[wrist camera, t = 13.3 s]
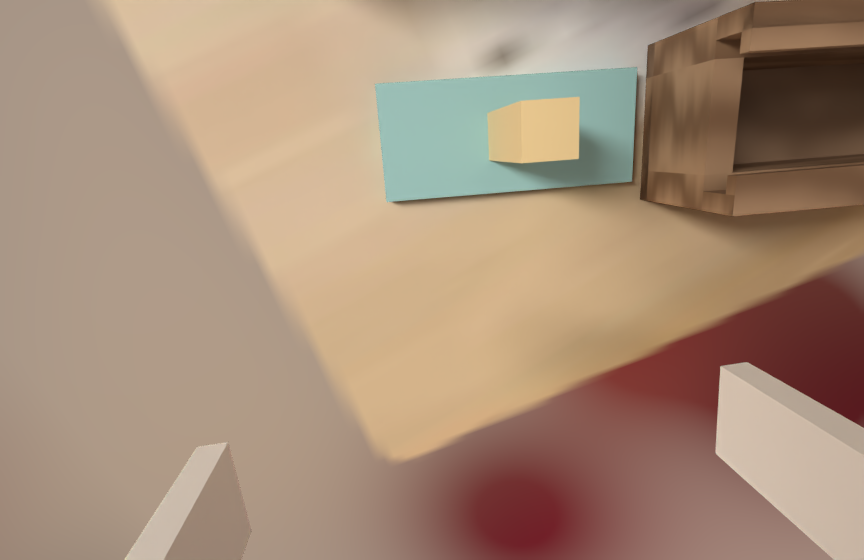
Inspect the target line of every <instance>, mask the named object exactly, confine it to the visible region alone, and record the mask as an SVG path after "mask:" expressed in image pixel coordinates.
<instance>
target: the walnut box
mask: <svg viewBox="0 0 864 560" xmlns="http://www.w3.org/2000/svg"><path fill="white" fill-rule="evenodd" d="M640 199H642V200H647V201H652V202H658V203H663V204H669V205H674V206H679V207H685V208H690V209H696V210H701V211H706V212H712V213H717V214H723V215H728V216H742V215H753V214H764V213H775V212H787V211H798V210H809V209H820V208H831V207H842V206H854V205H864V0H789V1H770V2H754V3H752V4H750V5H747V6H745V7H742V8H740V9H737V10H735V11H732V12H730V13H727V14H725V15H722V16H720V17H717V18H715V19H712V20H710V21H707V22H705V23H703V24H700V25H698V26H695V27H693V28H690V29H688V30H685V31H683V32H680V33H678V34H675V35H673V36H670V37H668V38H665V39H663V40H660V41H658V42H655V43H653V44H651V45H648V55H647V75H646V95H645V115H644V135H643V155H642V175H641V195H640Z"/></svg>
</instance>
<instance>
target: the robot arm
mask: <svg viewBox="0 0 864 560" xmlns="http://www.w3.org/2000/svg"><path fill="white" fill-rule="evenodd" d="M716 454H717V455H718V456H719V457H720V458H721V459H722V460H723V461H724V462H726V463H727V464H728V465H729V466H730V467H731V468H732V469H733V470H734V471H736V472H737V473H738V474H739V475H740V476H741V477H742V478H743V479H745V480H746V481H747V482H748V483H749V484H750V485H751V486H752V487H753V488H755V489H756V490H757V491H758V492H759V493H760V494H761V495H763V496H764V497H765V498H766V499H767V500H768V501H769V502H770V503H771V504H772V505H774V506H775V507H776V508H777V509H778V510H779V511H780V512H781V513H782V514H784V515H785V516H786V517H787V518H788V519H789V520H790V521H791V522H792V523H794V524H795V525H796V526H797V527H798V528H799V529H800V530H801V531H803V532H804V533H805V534H806V535H807V536H808V537H809V538H810V539H812V540H813V541H814V542H815V543H816V544H817V545H818V546H819V547H820V548H821V549H823V550H824V551H825V552H826V553H827V554H828V555H829V556H830V557H831V558H833V559H834V560H864V428H863V427H861V426H859V425H857V424H856V423H854V422H852V421H850V420H848V419H847V418H845V417H843V416H841V415H840V414H838V413H836V412H834V411H833V410H831V409H829V408H827V407H826V406H824V405H822V404H820V403H819V402H817V401H815V400H813V399H811V398H810V397H808V396H806V395H804V394H803V393H801V392H799V391H797V390H796V389H794V388H792V387H790V386H788V385H787V384H785V383H783V382H781V381H780V380H778V379H776V378H774V377H773V376H771V375H769V374H767V373H766V372H764V371H762V370H760V369H759V368H757V367H755V366H753V365H751V364H750V363H748V362H745V363H738V364H731V365H725V366H721V367H720V384H719V401H718V418H717V436H716ZM250 534H251V527H250V523H249V519H248V515H247V512H246V508H245V504H244V500H243V496H242V493H241V489H240V485H239V481H238V478H237V474H236V470H235V466H234V462H233V459H232V455H231V451H230V447H229V444H228V442H225V443H220V444H212V445H206V446H199V447H197V448H196V449H195V451H194V453H193V454H192V456H191V457H190V459H189V460H188V462H187V463H186V465H185V467H184V468H183V470H182V471H181V473H180V474H179V476H178V477H177V479H176V480H175V482H174V484H173V485H172V487H171V488H170V490H169V491H168V493H167V494H166V496H165V497H164V499H163V501H162V502H161V504H160V505H159V507H158V508H157V510H156V511H155V513H154V514H153V516H152V518H151V519H150V521H149V522H148V524H147V525H146V527H145V528H144V530H143V531H142V533H141V535H140V536H139V538H138V539H137V541H136V542H135V544H134V545H133V547H132V549H131V550H130V552H129V553H128V555H127V556H126V558H125V559H124V560H241V559H242V557H243V554H244V551H245V548H246V545H247V542H248V539H249V537H250Z"/></svg>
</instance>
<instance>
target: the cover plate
mask: <svg viewBox="0 0 864 560" xmlns="http://www.w3.org/2000/svg"><path fill="white" fill-rule="evenodd" d="M636 83H637V67H632V68H617V69H601V70H585V71H569V72H554V73H538V74H522V75H506V76H491V77H475V78H459V79H443V80H428V81H412V82H396V83H380V84H375V88H376V98H377V109H378V119H379V129H380V139H381V150H382V160H383V170H384V180H385V190H386V201H387V202H392V201H404V200H416V199H428V198H441V197H453V196H465V195H477V194H489V193H501V192H513V191H525V190H537V189H549V188H561V187H573V186H585V185H597V184H609V183H621V182H632V171H633V149H634V127H635V105H636Z"/></svg>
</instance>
